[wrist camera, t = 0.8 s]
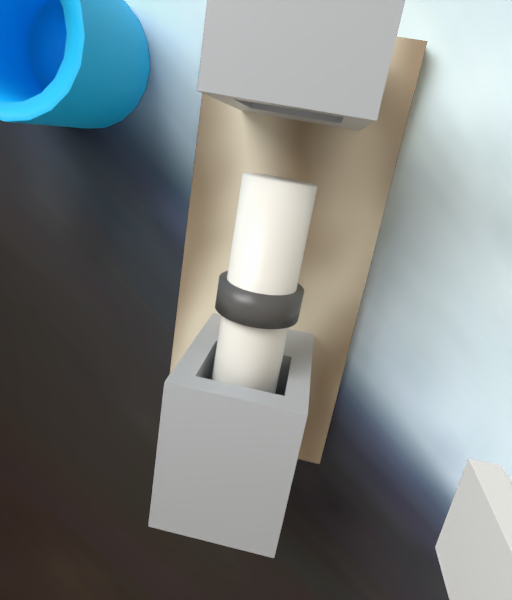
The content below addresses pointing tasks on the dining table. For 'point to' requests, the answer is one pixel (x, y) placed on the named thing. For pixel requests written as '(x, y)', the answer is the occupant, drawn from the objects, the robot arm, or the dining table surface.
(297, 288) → the tube
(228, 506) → the sleeve
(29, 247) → the dining table surface
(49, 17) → the mug
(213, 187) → the mount board
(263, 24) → the socket
